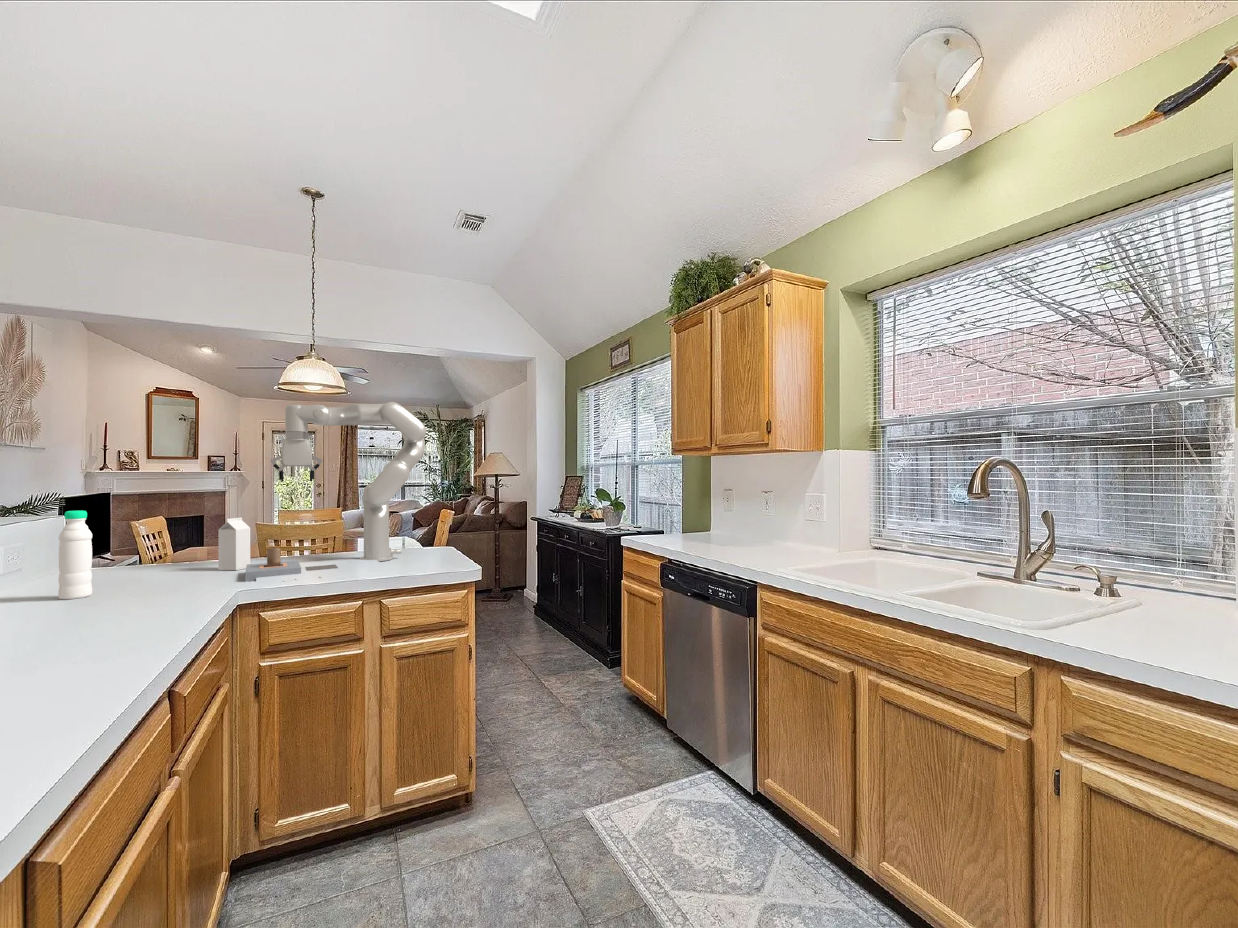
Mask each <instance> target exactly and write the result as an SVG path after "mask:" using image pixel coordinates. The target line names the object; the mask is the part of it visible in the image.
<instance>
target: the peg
mask: <svg viewBox="0 0 1238 928" xmlns="http://www.w3.org/2000/svg"><path fill="white" fill-rule="evenodd" d="M281 549H282V548H280V547H273V548H267V549H266V563H267V567H274V566H281V562H282V561H281V559H282V558H281V555H282V552H281Z"/></svg>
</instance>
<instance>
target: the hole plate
mask: <svg viewBox="0 0 1238 928" xmlns="http://www.w3.org/2000/svg"><path fill="white" fill-rule="evenodd" d="M301 566H302V565H301V564H300V561H299V560H287V561H281V566H274V567H267V562H263V563H262V562H261V563H250V564H247V566H246V568H245V571H244V573H245V575H244V578H245V579H244V581H245V582H256V581H257V578H268V577H278V576H288V575H289V576H291V575H300V574H301V575H302V567H301Z"/></svg>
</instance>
